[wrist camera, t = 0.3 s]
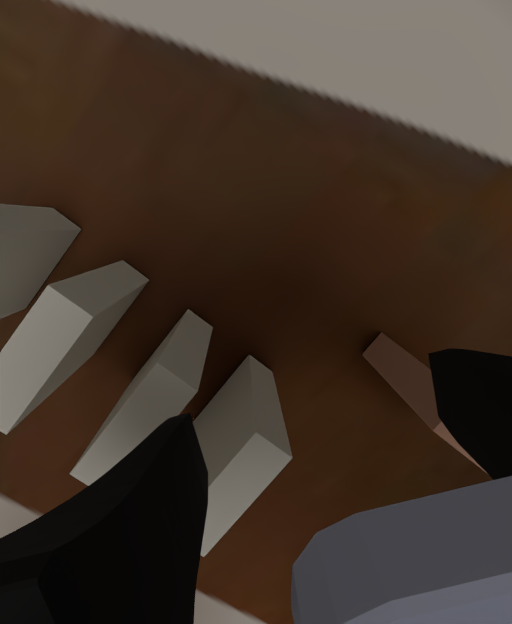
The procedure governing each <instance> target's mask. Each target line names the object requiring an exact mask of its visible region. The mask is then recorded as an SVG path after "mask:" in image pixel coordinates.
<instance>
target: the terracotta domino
mask: <svg viewBox="0 0 512 624" xmlns="http://www.w3.org/2000/svg"><path fill="white" fill-rule="evenodd" d="M362 356H363V357H364V358H365V359H366V360H367V361H368V362H369V363H370V364H371V365H372V366H373V367H374V368H375V370H376V371H377V372H378V373H379V374H380V375H381V376H382V377H383V378H384V379H385V380H386V381H387V382H388V383H389V385H390V386H391V387H392V388H393V389H394V390H395V391H396V392H397V393H398V394H399V395H400V396H401V397H402V398H403V400H404V401H405V402H406V403H407V404H408V405H409V406H410V407H411V408H412V409H413V410H414V411H415V412H416V413H417V414H418V416H419V417H420V418H421V419H422V420H423V421H424V422H425V423H426V424H427V425H428V426H429V427H430V428H431V429H432V431H434V432H435V433H436V434H437V435H439V436H440V437H441V438H443V439H444V440H445V441H446V442H448V443H449V444H450V445H452V446H453V447H454V448H455V449H457V450H458V451H459V452H460V453H462V454H463V455H464V456H466V457H467V458H468V459H469V460H471V461H472V462H473V463H474V464H476V465H477V466H478V467H480V468H481V469H482V470H483V471H485V470H484V469H483V468H482V467H481V466H480V465H479V464H478V463H477V462H476V461H475V460H474V459H473V458H472V457H471V456H470V455H469V454H468V453H467V452H466V451H465V450H464V449H463V448H462V447H461V446H460V445H459V444H458V443H457V441H456V440H455V439H454V437H453V436H452V435H451V434H450V432H449V431H448V430H447V428H446V427H445V425H444V424H443V423H442V421H441V420H440V418H439V417H438V412H437V406H436V400H435V393H434V387H433V380H432V374H431V370H430V369H429V368H428V367H427V366H425V365H424V364H423V363H421V362H420V361H419V360H417V359H416V358H415V357H413V356H412V355H411V354H410V353H408V352H407V351H406V350H404V349H403V348H402V347H400V346H399V345H398V344H396V343H395V342H394V341H393V340H391V339H390V338H389V337H387V336H386V335H385V334H383V333H382V332H381V333H380V334H379V336H378V337H377V338H376V339H375V340H374V341H373V342H372V344H371V345H370V346H369V347H368V348H367V349H366V350H365V351H364V353H363V354H362ZM485 472H486V471H485ZM486 473H487V472H486ZM487 474H488V473H487Z"/></svg>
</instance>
